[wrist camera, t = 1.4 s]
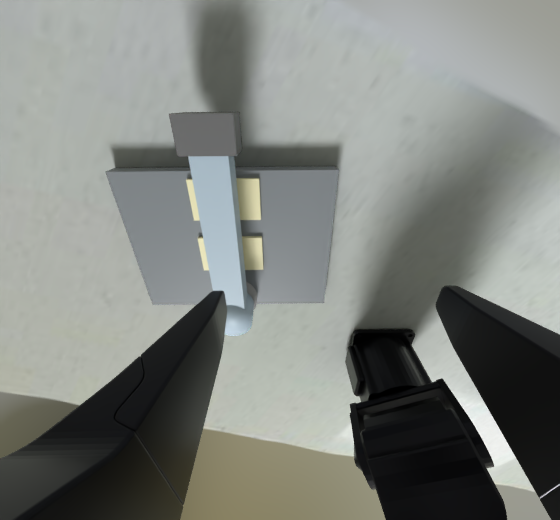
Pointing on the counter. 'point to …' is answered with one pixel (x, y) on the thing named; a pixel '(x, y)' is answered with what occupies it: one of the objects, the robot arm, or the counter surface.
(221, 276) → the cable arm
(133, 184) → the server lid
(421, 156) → the counter surface
